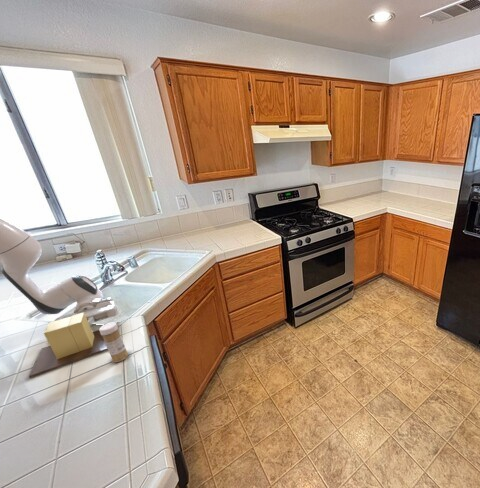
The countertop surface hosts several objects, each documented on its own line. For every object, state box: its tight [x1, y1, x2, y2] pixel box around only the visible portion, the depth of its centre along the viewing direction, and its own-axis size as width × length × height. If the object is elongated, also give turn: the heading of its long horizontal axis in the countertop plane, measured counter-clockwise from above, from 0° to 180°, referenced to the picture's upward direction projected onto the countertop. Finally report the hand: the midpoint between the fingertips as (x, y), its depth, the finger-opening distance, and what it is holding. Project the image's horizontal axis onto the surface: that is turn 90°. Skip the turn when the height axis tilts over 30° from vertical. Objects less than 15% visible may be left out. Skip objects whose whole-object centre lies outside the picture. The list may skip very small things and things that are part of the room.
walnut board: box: [28, 329, 108, 379], centre depth 96 cm, size 22×16×1 cm
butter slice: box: [68, 312, 94, 351], centre depth 96 cm, size 3×8×11 cm, turn 35°
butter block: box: [43, 316, 80, 359], centre depth 93 cm, size 6×7×11 cm
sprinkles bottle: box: [98, 321, 129, 363], centre depth 88 cm, size 5×5×14 cm
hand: (84, 326), depth 99 cm, fingers closed
